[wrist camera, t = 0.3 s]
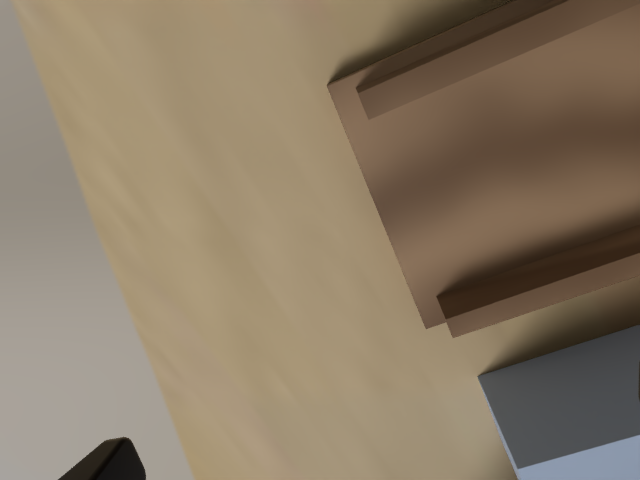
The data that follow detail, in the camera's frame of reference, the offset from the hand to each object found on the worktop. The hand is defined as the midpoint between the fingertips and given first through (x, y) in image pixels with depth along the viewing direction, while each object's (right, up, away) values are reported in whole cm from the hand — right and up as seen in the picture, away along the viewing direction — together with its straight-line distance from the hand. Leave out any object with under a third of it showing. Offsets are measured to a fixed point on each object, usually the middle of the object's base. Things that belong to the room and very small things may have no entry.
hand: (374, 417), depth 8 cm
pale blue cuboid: (+12, -4, +17) cm, 21 cm away
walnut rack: (+8, +7, +12) cm, 16 cm away
